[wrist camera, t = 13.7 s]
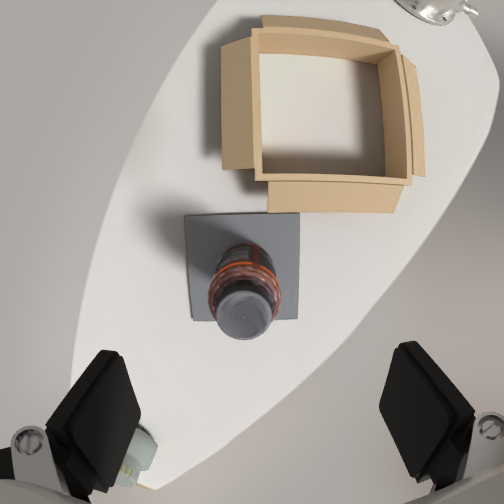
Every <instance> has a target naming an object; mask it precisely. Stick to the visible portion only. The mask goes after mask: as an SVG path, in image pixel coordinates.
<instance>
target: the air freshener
mask: <svg viewBox="0 0 504 504" xmlns="http://www.w3.org/2000/svg"><path fill="white" fill-rule="evenodd" d="M157 447H158V445H157V443H156V442H155V441H154V440H153V439H152V438H151V437H150V436H149V435H148V434H147V433H145V432H144V431H142V430H140V429H138V428H136V430H135V433H134V435H133V438H132V440H131V443H130V445H129V448H128V450H127V453H126V455H125V458H124V460H123V463H122V465H121V468H120V471H119V473H118V476H117V478H116V481H115V483H116V484H118V485H121V486H125V487H132V486H135V485H136V482H137V479H138V476H139V473H140V471H145V470H148V469H149V467H150V465H151V463H152V460H153V458H154V456H155V453H156V450H157Z"/></svg>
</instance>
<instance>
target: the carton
mask: <svg viewBox="0 0 504 504" xmlns="http://www.w3.org/2000/svg"><path fill="white" fill-rule="evenodd" d="M261 19H262V25H263V28H251V36H249V37H246V38H243V39H240V40H237V41H235V42H232V43H229V44H226V45H223V46H221V132H222V170H235V169H250V168H254V180H255V181H268V208H267V211H268V213H280V212H361V213H394V211H395V208H396V206H397V203H398V200H399V198H400V195H401V192H402V189H403V185H412V175H417V176H423V177H425V149H424V132H423V120H422V109H421V101H420V93H419V86H418V79H417V73H416V68H415V65H414V64H412V63H411V62H410V61H409V60H408V59H407V58H406V57H405V56H403V55H401V54H400V49H399V46H396V45H392V44H390V41H389V40H388V39H387V38H386V37H385V36H384V34H383V33H382V32H381V31H380V30H379V29H376V28H371V27H367V26H362V25H357V24H351V23H346V22H339V21H333V20H325V19H317V18H307V17H294V16H274V15H261ZM259 54H295V55H310V56H321V57H330V58H339V59H346V60H353V61H359V62H365V63H370V64H376V65H377V70H378V77H379V85H380V94H381V104H382V115H383V130H384V150H385V177H376V176H359V175H337V174H262V137H261V102H260V71H259Z"/></svg>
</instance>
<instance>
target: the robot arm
mask: <svg viewBox="0 0 504 504" xmlns="http://www.w3.org/2000/svg"><path fill="white" fill-rule="evenodd" d="M396 1H397V2H398V3H399V4H400V5H401V6H402V7H404V8H405V9H406V10H407V11H409V12H410V13H412V14H413V15H414V16H416V17H418V18H420V19H421V20H423V21H426V22H428V23H431V24H434V25H439V26H442V25H447V24H449V23H450V22H451V21H453V19H454V17H455V11H459V12H462V11H463V12H464V13H466V14H468V15H469V16H471V17H473V18H476V17H477V16H478V11H477V9H475V8H474V7H472V6H470V5H468V4H465V3H464V2H466V1H467V0H396ZM379 409H380V412H381V414H382V417H383V419H384V421H385V423H386V425H387V427H388V429H389V431H390V433H391V435H392V437H393V439H394V442H395V444H396V446H397V448H398V450H399V453H400V455H401V457H402V459H403V461H404V463H405V466H406V468H407V470H408V472H409V474H410V476H411V477H413V478H414V477H415V479H416V481H417V483H420V482H423V481H425V480H428V479H432V481H433V485H432V488H431V491H430V493H429V494H428V495H426V496H423V497H421V498H418V499H415V500H413V501H410V502H407V503H404V504H504V416H502V415H500V414H499V413H496V412H484V413H482V414H480V415H479V416H478V417H477V418H476V417H475V416H474V413H475V410H474V409H473V407H472V406H471V405H470V404H469V402H468V401H467V400H466V399H465V398H464V396H463V395H462V394H461V393H460V391H459V390H458V389H457V388H456V387H455V385H454V384H453V383H452V382H451V381H450V379H449V378H448V377H447V376H446V375H445V373H444V372H443V371H442V370H441V369H440V368H439V367H438V365H437V364H436V363H435V362H434V361H433V359H432V358H431V357H430V356H429V355H428V354H427V353H426V352H425V350H424V349H423V348H422V347H421V346H420V345H419V344H418V343H417V342H416V341H409V342H404V343H400V344H399V346H398V348H396V349H395V350H394V353H393V357H392V361H391V365H390V369H389V373H388V376H387V380H386V383H385V386H384V390H383V393H382V396H381V399H380V403H379ZM140 417H141V411H140V407H139V405H138V402H137V399H136V396H135V393H134V390H133V388H132V385H131V381H130V378H129V375H128V372H127V369H126V366H125V362H124V359H123V357H122V356H119V354H118V352H116V351H109V350H101V351H100V352H99V353H98V354H97V355H96V357H95V358H94V359H93V361H92V362H91V363H90V364H89V366H88V367H87V368H86V370H85V371H84V372H83V374H82V375H81V376H80V378H79V379H78V380H77V382H76V383H75V384H74V386H73V387H72V388H71V390H70V391H69V392H68V394H67V395H66V396H65V398H64V399H63V401H62V402H61V403H60V405H59V406H58V407H57V409H56V410H55V412H54V413H53V415H52V416H51V417H50V419H49V420H48V421H47V423H46V424H45V425H46V426H47V428H46V430H45V431H44V430H43V429H41V428H39V427H36V426H26V427H23V428H21V429H19V430H18V431H17V432H16V433H15V434H14V435H13V437H12V440H11V447H8V448H5V449H0V504H95V502H94V500H93V498H92V495H91V493H92V491H93V489H95V490H98V491H101V492H104V493H107V491H108V489H109V487H113V485H114V484H115V481H116V478H117V476H118V473H119V471H120V468H121V465H122V463H123V460H124V458H125V455H126V453H127V450H128V448H129V445H130V443H131V440H132V438H133V435H134V433H135V430H136V428H137V425H138V423H139V420H140Z"/></svg>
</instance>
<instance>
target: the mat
mask: <svg viewBox="0 0 504 504" xmlns="http://www.w3.org/2000/svg"><path fill="white" fill-rule="evenodd" d="M184 222H185V237H186V251H187V264H188V275H189V286H190V296H191V305H192V314H193V321H216V320H215V319H214V317H213V316H212V314H211V312H210V309H209V306H208V291H209V287H210V284H211V281H212V278H213V276H214V273H215V270H216V267H217V265H218V262H219V260H220V258H221V256H222V255H223V253H224V252H225V251H226V250H227V249H228V248H230V247H232V246H234V245H236V244H240V243H251V244H255V245H257V246H259V247H261V248H263V249H264V250H265V251H266V252H267V253H268V255H269V256H270V258H271V260H272V262H273V265H274V268H275V272H276V275H277V279H278V283H279V287H280V291H281V306H280V309H279V312H278V314H277V316H276V317H275V319H274V320H287V319H298V294H299V254H300V213H271V214H230V215H202V216H185V217H184Z"/></svg>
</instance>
